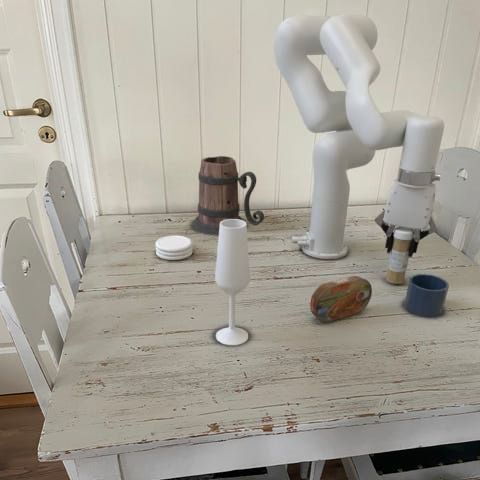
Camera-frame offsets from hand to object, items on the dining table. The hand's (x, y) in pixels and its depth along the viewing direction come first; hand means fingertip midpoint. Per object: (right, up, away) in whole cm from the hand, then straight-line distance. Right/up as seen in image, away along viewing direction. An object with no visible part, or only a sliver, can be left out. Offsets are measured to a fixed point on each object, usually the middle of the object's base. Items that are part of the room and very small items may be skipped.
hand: (400, 252), depth 117 cm
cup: (+3, -14, -7) cm, 15 cm away
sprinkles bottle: (0, -7, +4) cm, 8 cm away
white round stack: (-57, +2, +17) cm, 59 cm away
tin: (-17, -15, -10) cm, 25 cm away
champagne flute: (-40, -20, -18) cm, 48 cm away
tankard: (-42, +13, +35) cm, 56 cm away
